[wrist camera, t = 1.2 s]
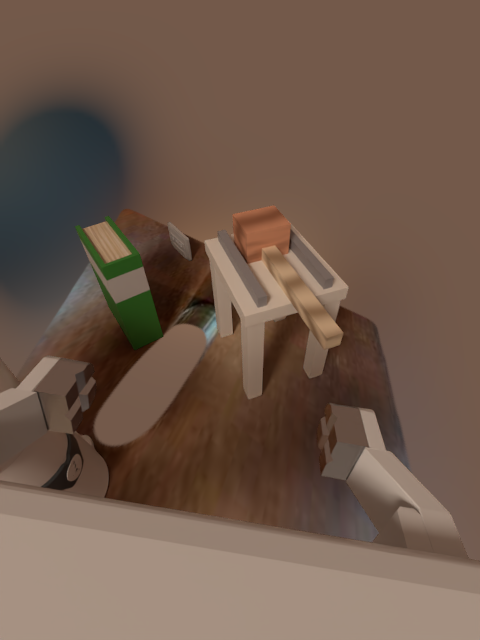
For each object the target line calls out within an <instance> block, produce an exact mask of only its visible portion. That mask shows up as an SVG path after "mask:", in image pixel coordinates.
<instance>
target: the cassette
mask: <svg viewBox="0 0 480 640" xmlns="http://www.w3.org/2000/svg"><path fill="white" fill-rule="evenodd" d="M168 229H169V234H170V239H171V243H172V245H173V247H174V248H175V249H176V250H177V251H178V252H179V253H180V254H181V255H182V256H183V257H184V258H185V259H188V260H189V261H191V260H192V256H191V249H190V243H189V238H188V237H186V236H185V235H184V234H183V233H182V232H181V231H180V230H179V229H177V228H176V227H175V226H174V225H173V224H172V223H171V222H168Z"/></svg>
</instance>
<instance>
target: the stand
mask: <svg viewBox="0 0 480 640" xmlns="http://www.w3.org/2000/svg"><path fill="white" fill-rule="evenodd" d="M289 223H290V222H289ZM205 249H206V253H207V255H208V257H209V259H210V267H211V276H212V285H213V294H214V303H215V312H216V321H217V329H218V331H219V334H220V336H221V337H225V336H228V335H232V334H233V326H232V310H231V301H232V303H233V305H234V307H235V309H236V311H237V313H238V315H239V317H240V319H241V341H242V368H243V388H244V391H245V393H246V395H247V398H248V400H249V399H252V398H255V397H257V396H260V395H262V380H263V352H264V324H265V322H267V321H270V320H274V321H275V322H276V321H279V320H283V319H286V316H287V315H291V314H294V313H298V312H297V310H296V309H295V308H294V306H293V305H292V303H291V302H290V300H289V299H288V298H287V296H286V295H285V293H284V292H283V290H282V289H281V287H280V286H279V285H278V283H277V282H276V280H275V279H274V277H273V276H272V274H271V273H270V272H269V270H268V269H267V267H266V266H265V264H264V263H263V262H262V260H261V261H257V262H253V263H248V264H247V263H246V261H245V259H244V258H243V256H242V255H241V253H240V252H239V250H238V249H237V247H236V245H235V244H234V234H232V235H228V234H227V232H226V230H222V231H218V238H214V239H210V240H205ZM283 256H284V257H285V259H286V260H287V261H288V262H289V264H290V265H291V266H292V268H293V269H294V270H295V271H296V273H297V274H298V275H299V277H300V278H301V279H302V280H303V282H304V283H305V284H306V286H307V287H308V288H309V289H310V291H311V292H312V293H313V294H314V296H315V297H316V298H317V300H318V301H319V302H320V303H321V305H322V306H323V307H324V309H325V310H326V311H327V312H328V314H329V315H330V316H331V318H332V319H333V320H334V321H336V317H337V313H338V309H339V305H340V301H341V300H342V299H346V295H347V292H348V288H349V287H348V286H347V285H346V284H345V282H344V281H343V280H342V279H341V278H340V277H339V276H338V275H337V274H336V273H335V271H334V270H333V269H332V268H331V267H330V266H329V265H328V264H327V263H326V262H325V261H324V259H323V258H322V257H321V256H320V255H319V254H318V253H317V252H316V251H315V250H314V248H312V246H311V245H310V244H309V243H308V242H307V241H306V240H305V239H304V237H303V236H302V235H301V234H300V233H299V232H298V231H297V230H296V229H295V228H294V227H293V225H292V224H291V229H290V240H289V251H288V254H285V255H283ZM327 353H328V349H326V350H324V349H323V348H322V346H321V345H320V344H319V342H318V341H317V339H316V338H315V336H314V335H313V334H312V332H311V331H310V332H309V337H308V343H307V348H306V354H305V360H304V365H303V369H304V371H305V372H306V374H307V375H308V377H309V379H310V378H313V377H316V376H319V375H322V372H323V368H324V364H325V360H326V357H327Z"/></svg>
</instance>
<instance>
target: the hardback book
mask: <svg viewBox="0 0 480 640" xmlns="http://www.w3.org/2000/svg"><path fill="white" fill-rule="evenodd" d="M105 219H106V222H103V223H99V224H96V225H93V226H90V227H87V228H84V229H81V227H80V226H79V225H78V226H76V227H75V228H76V230H77V233H78V235H79V237H80V239H81V242H82V244H83V247H84V249H85V251H86V254H87V256H88V259H89V261H90V263H91V266H92V268H93V270H94V273H95V275H96V277H97V280H98V282H99V285H100V287H101V289H102V292H103V294H104V296H105V299H106V301H107V304H108V306H109V308H110V310H111V311H112V313H113V315H114V317H115V318H116V320H117V322H118V323H119V325H120V327H121V328H122V330H123V332H124V333H125V335H126V337H127V339H128V340H129V342H130V344H131V345H132V347H133V349H134V350H136V349H138V348H140V347H143V346H145V345H147V344H149V343H151V342H153V341H155V340H157V339H159V338H161V337H163V333H162V330H161V326H160V323H159V320H158V316H157V313H156V309H155V306H154V302H153V299H152V295H151V292H150V288H149V285H148V281H147V278H146V274H145V271H144V267H143V264H142V260H141V257H140V254H139V253H138V251H137V250H136V249H135V248H134V246H133V245H132V244H131V243H130V241H129V240H128V239H127V238H126V237H125V235H124V234H123V233H122V232H121V230H120V229H119V228H118V227H117V225H116V224H115V223H114V222H113V221H112V219H111V218H110V217H109V216H107V217H105Z"/></svg>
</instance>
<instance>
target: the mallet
mask: <svg viewBox="0 0 480 640" xmlns="http://www.w3.org/2000/svg"><path fill="white" fill-rule="evenodd" d="M290 229H291V224H290V223H289V222H288V220H287V219H286V218H285V217H284V216H283V215H282V214H281V213H280V212H279V210H278V209H277V208H276V207H275V206H269V207H265V208H260V209H255V210H250V211H246V212H241V213H236V214H233V230H234V244H235V245H236V247H237V249H238V250H239V252H240V253H241V255H242V256H243V258H244V259H245V261H246V263H247V264H248V263H253V262H257V261H261V260H262V262H263V263H264V264H265V266H266V267H267V269H268V270H269V272H270V273H271V274H272V276H273V277H274V279H275V280H276V282H277V283H278V285H279V286H280V287H281V289H282V290H283V292H284V293H285V295H286V296H287V298H288V299H289V300H290V302H291V303H292V305H293V306H294V308H295V309H296V310H297V312H298V313H299V315H300V316H301V318H302V319H303V321H304V322H305V323H306V325H307V326H308V328H309V329H310V331H311V332H312V334H313V335H314V336H315V338H316V339H317V341H318V342H319V344H320V345H321V346H322V348H323V349H324V350H326V349H329V348H332V347H335V346H338V345H340V343H341V340H342V336H343V332H342V330H341V329H340V328H339V326H338V325H337V324H336V323H335V321H334V320H333V319H332V318H331V316H330V315H329V314H328V312H327V311H326V310H325V309H324V307H323V306H322V305H321V303H320V302H319V301H318V300H317V298H316V297H315V296H314V294H313V293H312V292H311V291H310V289H309V288H308V287H307V286H306V284H305V283H304V282H303V280H302V279H301V278H300V277H299V275H298V274H297V273H296V271H295V270H294V269H293V268H292V266H291V265H290V264H289V262H288V261H287V260H286V259H285V257H284V256H283V255H285V254H288V251H289V240H290Z"/></svg>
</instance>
